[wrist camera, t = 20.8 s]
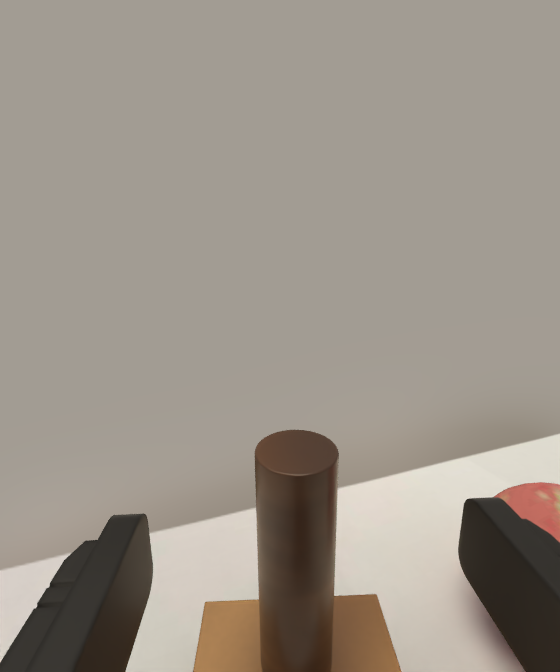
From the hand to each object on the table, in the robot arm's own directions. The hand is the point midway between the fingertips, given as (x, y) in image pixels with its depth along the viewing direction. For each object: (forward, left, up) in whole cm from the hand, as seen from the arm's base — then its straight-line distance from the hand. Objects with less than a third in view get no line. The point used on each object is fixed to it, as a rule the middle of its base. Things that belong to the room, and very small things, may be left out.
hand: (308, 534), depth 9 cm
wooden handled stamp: (0, +3, -12) cm, 12 cm away
